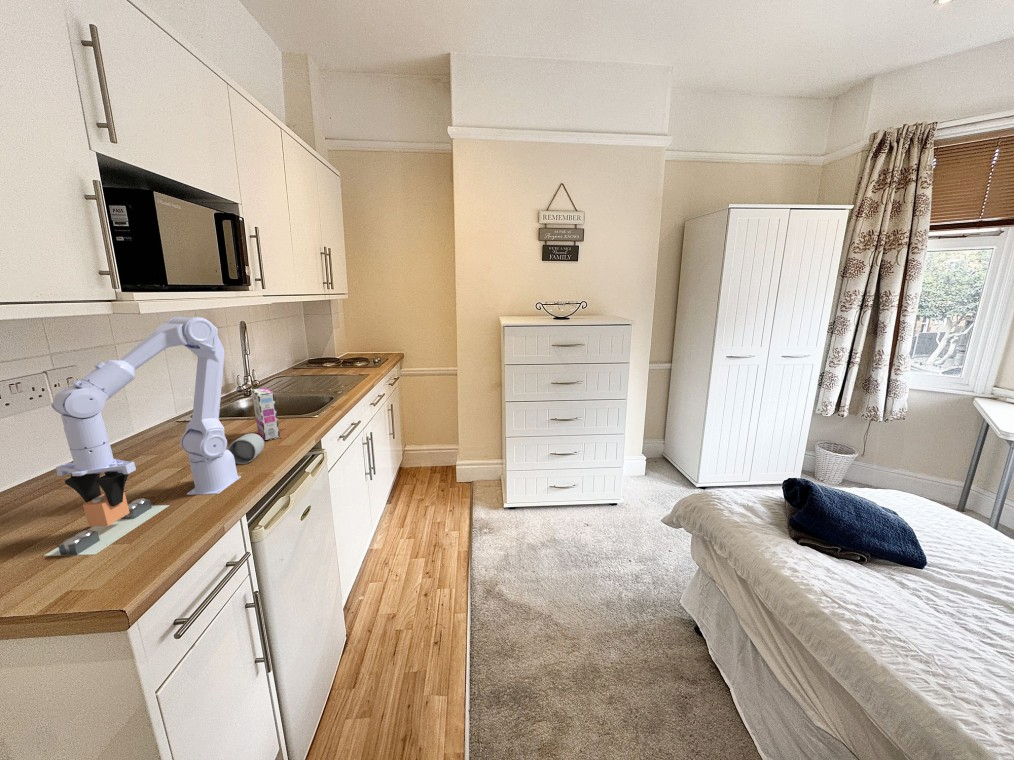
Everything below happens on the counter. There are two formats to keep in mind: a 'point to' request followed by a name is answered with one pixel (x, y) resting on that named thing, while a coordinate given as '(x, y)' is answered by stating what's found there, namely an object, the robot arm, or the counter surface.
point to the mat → (114, 531)
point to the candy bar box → (265, 413)
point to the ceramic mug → (246, 448)
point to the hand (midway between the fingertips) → (106, 504)
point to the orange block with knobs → (104, 511)
